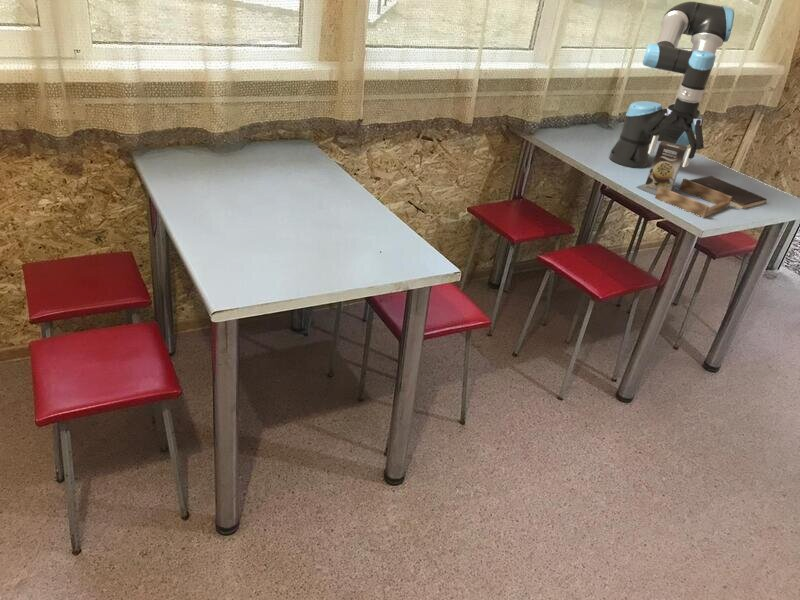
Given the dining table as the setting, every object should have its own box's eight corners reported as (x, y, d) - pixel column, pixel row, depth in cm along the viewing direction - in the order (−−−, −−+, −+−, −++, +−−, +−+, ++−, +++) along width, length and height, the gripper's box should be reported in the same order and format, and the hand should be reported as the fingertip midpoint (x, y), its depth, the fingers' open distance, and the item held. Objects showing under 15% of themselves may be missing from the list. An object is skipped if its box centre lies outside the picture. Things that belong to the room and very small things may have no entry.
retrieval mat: (636, 187, 236) (636, 186, 235) (656, 181, 244) (656, 180, 244) (658, 196, 230) (658, 195, 230) (677, 189, 239) (678, 188, 238)
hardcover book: (740, 210, 230) (743, 204, 229) (685, 186, 245) (687, 180, 244) (764, 204, 238) (767, 198, 237) (709, 181, 254) (711, 175, 252)
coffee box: (643, 186, 236) (658, 143, 227) (647, 182, 241) (661, 139, 232) (669, 194, 233) (685, 150, 224) (672, 189, 238) (688, 146, 229)
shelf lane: (655, 198, 229) (658, 187, 227) (681, 188, 240) (685, 178, 238) (702, 218, 218) (707, 207, 216) (728, 207, 229) (732, 196, 227)
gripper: (649, 90, 225) (631, 149, 237) (718, 112, 211) (694, 174, 222) (660, 88, 230) (642, 146, 241) (728, 109, 215) (705, 170, 226)
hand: (667, 159), depth 232 cm, fingers open, 13 cm apart
